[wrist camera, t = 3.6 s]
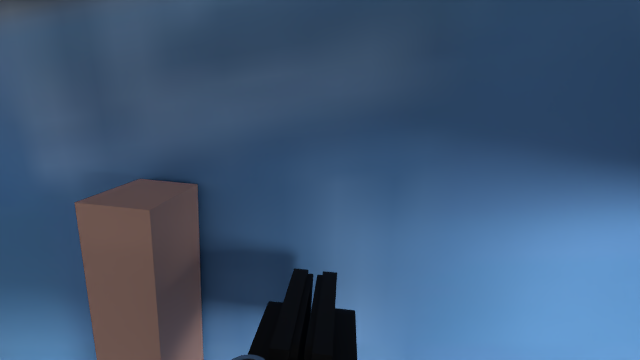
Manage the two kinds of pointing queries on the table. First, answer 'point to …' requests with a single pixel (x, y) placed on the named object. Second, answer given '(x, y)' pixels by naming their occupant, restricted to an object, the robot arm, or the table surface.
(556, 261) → the table surface
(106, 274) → the folding leg
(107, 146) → the table surface
